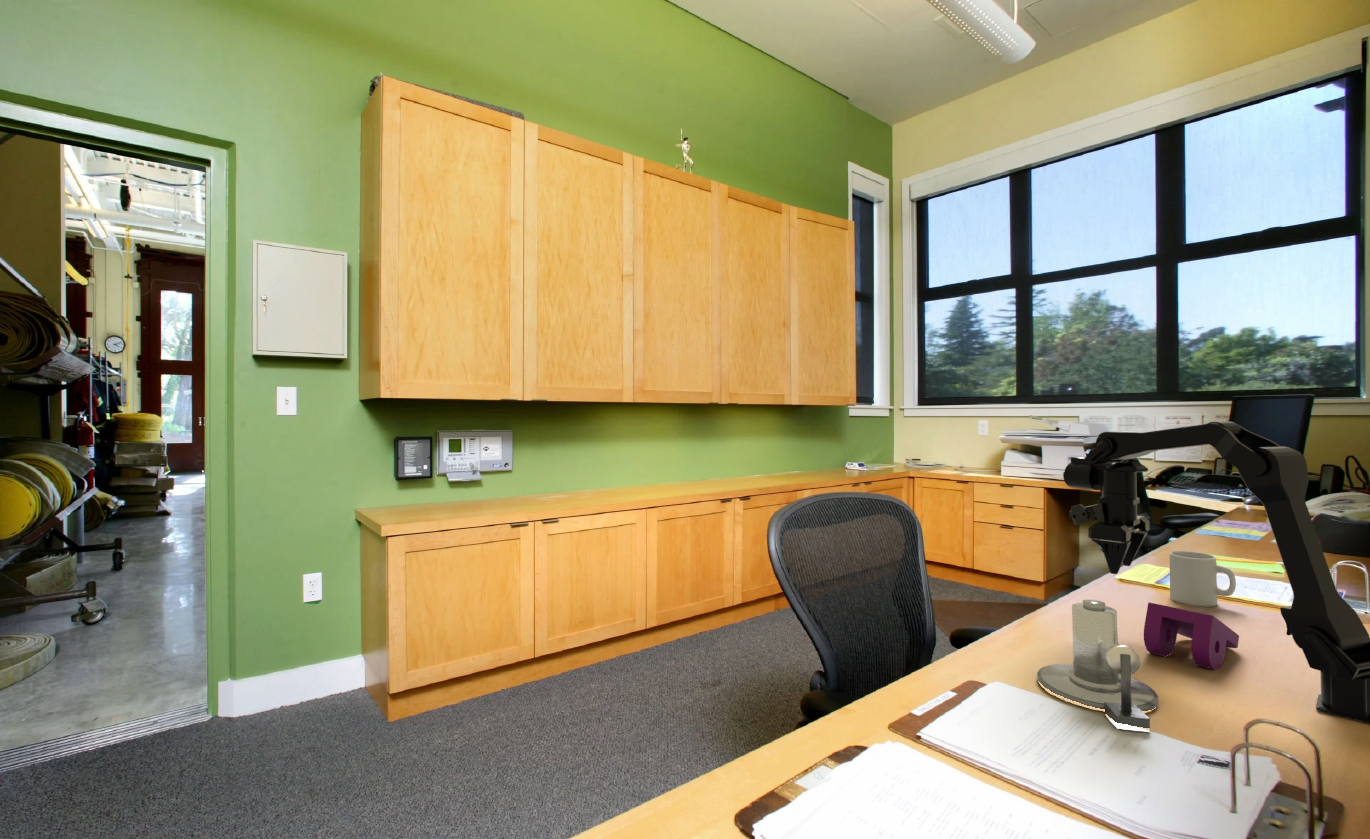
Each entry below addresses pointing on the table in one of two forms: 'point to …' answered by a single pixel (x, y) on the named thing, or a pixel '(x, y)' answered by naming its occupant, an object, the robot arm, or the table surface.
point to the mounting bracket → (1188, 634)
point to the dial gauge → (1125, 686)
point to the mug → (1197, 579)
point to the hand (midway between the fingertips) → (1120, 569)
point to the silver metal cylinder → (1094, 646)
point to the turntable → (1061, 685)
